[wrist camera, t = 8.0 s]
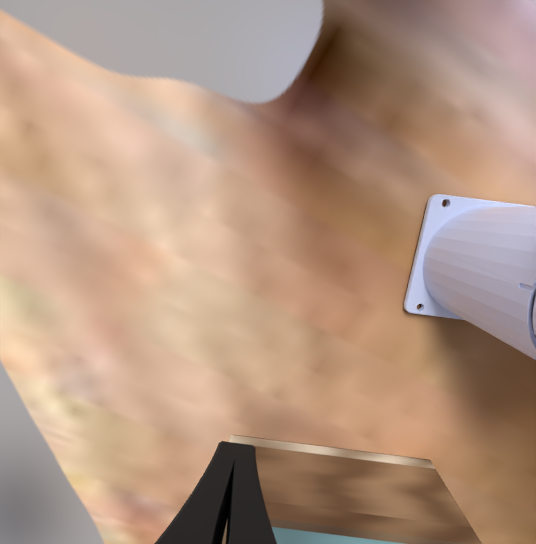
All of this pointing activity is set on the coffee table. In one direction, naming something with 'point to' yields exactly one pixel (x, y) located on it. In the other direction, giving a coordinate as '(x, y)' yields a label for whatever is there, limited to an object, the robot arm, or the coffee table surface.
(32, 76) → the coffee table surface
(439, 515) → the box
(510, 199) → the coffee table surface
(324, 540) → the lid
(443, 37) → the coffee table surface
